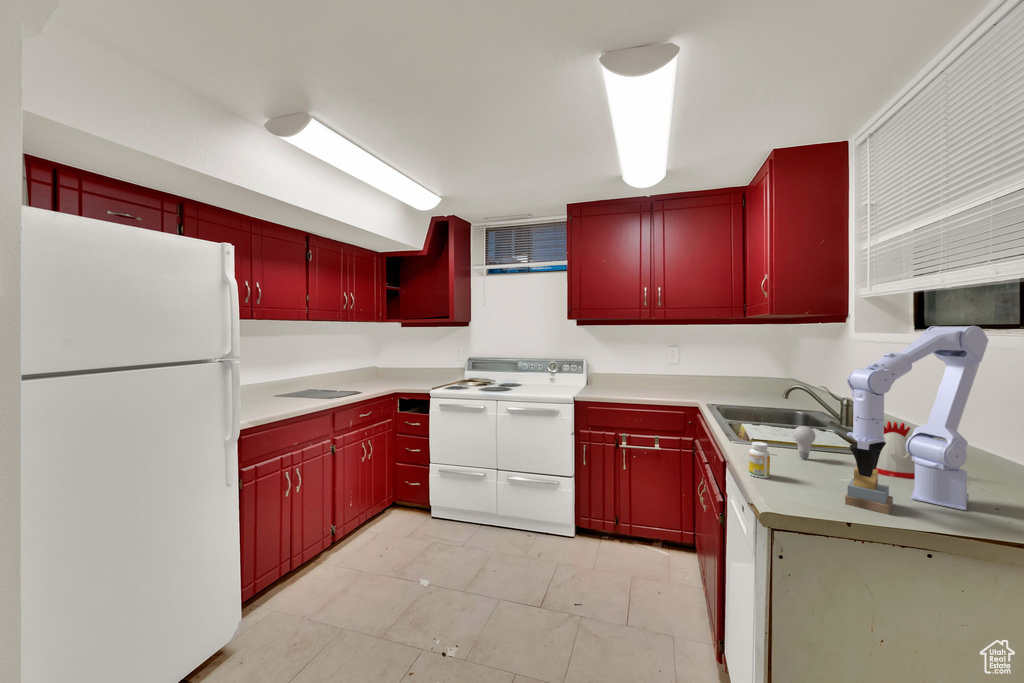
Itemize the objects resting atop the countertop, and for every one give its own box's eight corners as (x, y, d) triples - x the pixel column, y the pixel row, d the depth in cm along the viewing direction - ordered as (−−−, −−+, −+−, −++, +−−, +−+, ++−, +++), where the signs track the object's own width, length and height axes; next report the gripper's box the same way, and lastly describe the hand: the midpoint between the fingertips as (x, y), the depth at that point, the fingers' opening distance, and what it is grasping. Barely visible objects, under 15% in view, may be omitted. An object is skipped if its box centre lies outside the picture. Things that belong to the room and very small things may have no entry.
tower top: (888, 496, 103) (888, 486, 103) (885, 504, 98) (885, 493, 98) (852, 488, 108) (852, 478, 108) (847, 495, 103) (847, 485, 103)
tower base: (892, 506, 103) (893, 496, 103) (888, 516, 97) (888, 506, 97) (851, 497, 109) (851, 487, 108) (845, 506, 103) (845, 496, 103)
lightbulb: (819, 461, 135) (820, 428, 135) (800, 462, 135) (801, 428, 135) (806, 456, 141) (807, 423, 141) (788, 456, 141) (788, 424, 141)
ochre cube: (877, 485, 103) (877, 469, 103) (874, 490, 100) (875, 473, 100) (857, 481, 106) (857, 466, 106) (853, 485, 103) (853, 469, 103)
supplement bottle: (756, 479, 121) (757, 446, 120) (744, 472, 126) (744, 441, 126) (774, 478, 121) (774, 445, 121) (761, 472, 127) (761, 440, 126)
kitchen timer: (935, 481, 118) (936, 428, 117) (875, 476, 122) (876, 425, 122) (906, 465, 131) (907, 418, 130) (853, 461, 135) (854, 415, 135)
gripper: (853, 411, 110) (852, 462, 111) (841, 419, 101) (841, 475, 101) (889, 415, 105) (888, 468, 105) (880, 424, 95) (879, 483, 96)
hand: (867, 472), depth 103 cm, fingers open, 6 cm apart
